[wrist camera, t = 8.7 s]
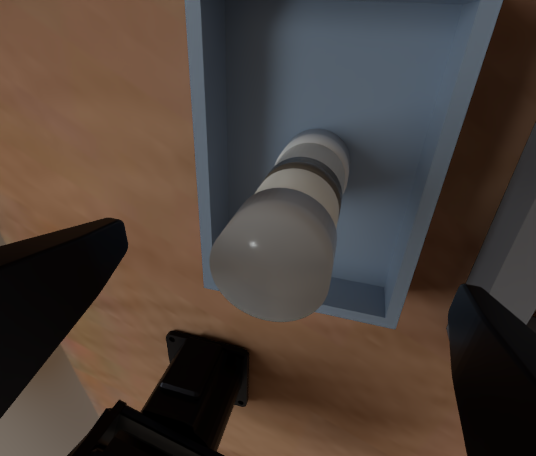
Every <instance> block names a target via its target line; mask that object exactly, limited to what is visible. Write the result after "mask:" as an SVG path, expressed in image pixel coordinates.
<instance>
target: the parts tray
mask: <svg viewBox="0 0 536 456" xmlns="http://www.w3.org/2000/svg"><path fill="white" fill-rule="evenodd" d="M502 2H503V0H185V12H186V27H187V42H188V57H189V72H190V87H191V102H192V116H193V131H194V146H195V161H196V176H197V191H198V206H199V220H200V235H201V250H202V265H203V280H204V288H208V289H212V290H217V291H220V290H219V289H218V288H217V286H216V284H215V282H214V280H213V277H212V275H211V271H210V264H209V260H210V252H211V249H212V246H213V244H214V242H215V240H216V239H217V238H218V236H219V235H220V234H221V232H222V231H223V230H224V228H225V227H226V226H227V224H228V223H229V222H230V220H231V219H232V218H233V216H234V215H235V214H236V212H237V211H238V210H239V208H240V207H241V206H242V204H243V203H244V202H245V201H246V200H247V199H248V198H249V197H251V196H252V195H254V193H255V192H256V191H257V189H258V188H259V186H260V184H261V183H262V181H263V180H264V179H265V177H266V176H267V175H268V173H269V172H270V171H271V169H272V168H273V167H274V166H275V163H276V160H277V158H278V157H279V155H280V154H281V152H282V151H283V150H284V148H285V147H286V146H287V144H288V143H289V142H290V141H291V139H292V138H293V137H294V136H296V135H297V134H298V133H300V132H302V131H305V130H308V129H315V128H317V129H325V130H328V131H330V132H333V133H334V134H336V135H337V136H339V137H340V138H341V139H342V140H343V141H344V143H345V144H346V146H347V148H348V150H349V153H350V161H351V163H350V170H349V176H348V182H347V186H346V189H345V192H344V193H343V196H342V204H341V209H340V215H339V219H338V222H337V228H336V232H337V246H336V252H335V258H334V264H333V270H332V275H331V281H330V287H329V291H328V295H327V297H326V299H325V301H324V302H323V304H322V305H321V306H320V307H319V308H318V309H317V310H316V311H315V312H318V313H322V314H327V315H331V316H336V317H341V318H345V319H350V320H354V321H359V322H363V323H368V324H373V325H377V326H382V327H386V328H391V329H396V326H397V323H398V320H399V317H400V314H401V311H402V308H403V305H404V301H405V298H406V295H407V292H408V289H409V286H410V283H411V280H412V277H413V274H414V271H415V268H416V265H417V262H418V259H419V256H420V253H421V250H422V247H423V243H424V240H425V237H426V234H427V231H428V228H429V225H430V222H431V219H432V216H433V213H434V210H435V207H436V204H437V201H438V198H439V195H440V192H441V189H442V185H443V182H444V179H445V176H446V173H447V170H448V167H449V164H450V161H451V158H452V155H453V152H454V149H455V146H456V143H457V140H458V137H459V134H460V130H461V127H462V124H463V121H464V118H465V115H466V112H467V109H468V106H469V103H470V100H471V97H472V94H473V91H474V88H475V85H476V82H477V79H478V76H479V72H480V69H481V66H482V63H483V60H484V57H485V54H486V51H487V48H488V45H489V42H490V39H491V36H492V33H493V30H494V27H495V24H496V21H497V18H498V14H499V11H500V8H501V5H502Z"/></svg>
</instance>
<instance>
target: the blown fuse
mask: <svg viewBox="0 0 536 456" xmlns="http://www.w3.org/2000/svg"><path fill="white" fill-rule="evenodd" d="M350 163H351V161H350V153H349V150H348V148H347V146H346V144H345V143H344V141H343V140H342V139H341V138H340V137H339V136H337V135H336V134H334V133H333V132H330V131H328V130H325V129H317V128H315V129H308V130H305V131H302V132H300V133H298V134H297V135H296V136H294V137H293V138H292V139H291V141H290V142H289V143H288V144H287V146H286V147H285V148H284V150H283V151H282V152H281V154H280V155H279V157H278V158H277V160H276V163H275V166H274V167H273V168H272V169H271V171H270V172H269V173H268V175H267V176H266V177H265V179H264V180H263V181H262V183H261V184H260V186H259V188H258V189H257V191H256V192H255V193H254V195H252V196H251V197H249V198H248V199H247V200H246V201H245V202H244V203H243V204H242V206H241V207H240V208H239V210H238V211H237V212H236V214H235V215H234V216H233V218H232V219H231V220H230V222H229V223H228V224H227V226H226V227H225V228H224V230H223V231H222V232H221V234H220V235H219V236H218V238H217V239H216V240H215V242H214V244H213V246H212V249H211V252H210V260H209V264H210V271H211V275H212V277H213V280H214V282H215V284H216V286H217V288H218V289H219V290H220V292H221V293H222V294H223V296H224V297H225V298H226V299H227V300H228V301H229V302H230V303H232V304H233V305H234V306H235V307H237V308H238V309H240V310H241V311H243V312H245V313H247V314H249V315H251V316H254V317H256V318H259V319H263V320H267V321H274V322H289V321H295V320H299V319H302V318H304V317H307V316H308V315H310V314H312V313H313V312H315V311H316V310H317V309H318V308H319V307H320V306H321V305H322V304H323V302H324V301H325V299H326V297H327V295H328V291H329V287H330V281H331V275H332V270H333V264H334V258H335V252H336V246H337V232H336V228H337V222H338V219H339V215H340V209H341V204H342V196H343V193H344V192H345V189H346V186H347V182H348V176H349V170H350Z"/></svg>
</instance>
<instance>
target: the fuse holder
mask: <svg viewBox="0 0 536 456" xmlns="http://www.w3.org/2000/svg"><path fill="white" fill-rule="evenodd" d="M466 284H469V285H475V286H480V287H482V288H483V289H484V290H486V291H487V292H488V293H489V294H490V295H492V296H493V297H494V298H495V299H496V300H497V301H499V302H500V303H501V304H502V305H503V306H505V307H506V308H507V309H508V310H509V311H511V312H512V313H513V314H514V315H515V316H516V317H518V318H519V319H520V320H521V321H522V322H524V323H525V324H526V325H527V326H528V327H529V328H531V329H532V330H533V331H534V332H535V333H536V317H531V316H532V315H533V313H534V311H535V310H536V122H535V125H534V127H533V129H532V132H531V134H530V136H529V139H528V141H527V143H526V145H525V148H524V150H523V152H522V155H521V157H520V159H519V162H518V164H517V166H516V169H515V171H514V173H513V176H512V178H511V180H510V182H509V185H508V187H507V189H506V192H505V194H504V196H503V199H502V201H501V203H500V206H499V208H498V210H497V212H496V215H495V217H494V219H493V222H492V224H491V226H490V229H489V231H488V233H487V236H486V238H485V240H484V242H483V245H482V247H481V249H480V252H479V254H478V256H477V259H476V261H475V263H474V266H473V268H472V270H471V272H470V275H469V277H468V279H467V282H466ZM446 329H447V333H448V337H449V327H448V326H447V328H446Z"/></svg>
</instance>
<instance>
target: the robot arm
mask: <svg viewBox="0 0 536 456" xmlns="http://www.w3.org/2000/svg"><path fill="white" fill-rule="evenodd" d="M127 249H128V241H127V236H126V231H125V226H124V223H123V222H122V221H121V220H119V219H114V218H104V219H100V220H97V221H93V222H89V223H85V224H82V225H78V226H74V227H70V228H67V229H63V230H59V231H55V232H52V233H48V234H44V235H40V236H37V237H33V238H29V239H25V240H22V241H18V242H14V243H10V244H7V245H3V246H0V418H1V417H2V416H3V415H4V413H5V412H6V411H7V410H8V408H9V407H10V406H11V404H12V403H13V402H14V401H15V400H16V398H17V397H18V396H19V394H20V393H21V392H22V391H23V389H24V388H25V387H26V386H27V384H28V383H29V382H30V380H31V379H32V378H33V377H34V376H35V374H36V373H37V372H38V370H39V369H40V368H41V367H42V366H43V364H44V363H45V362H46V361H47V359H48V358H49V357H50V356H51V354H52V353H53V352H54V350H55V349H56V348H57V347H58V345H59V344H60V343H61V342H62V340H63V339H64V338H65V337H66V335H67V334H68V333H69V332H70V330H71V329H72V328H73V327H74V325H75V324H76V323H77V322H78V320H79V319H80V318H81V317H82V315H83V314H84V313H85V312H86V310H87V309H88V308H89V306H90V305H91V304H92V303H93V301H94V300H95V299H96V298H97V296H98V295H99V294H100V292H101V291H102V289H103V288H104V286H105V285H106V283H107V282H108V280H109V278H110V277H111V275H112V274H113V272H114V271H115V269H116V268H117V266H118V264H119V263H120V261H121V260H122V258H123V257H124V255H125V254H126V252H127ZM448 327H449V341H450V356H451V370H452V379H453V385H454V390H455V396H456V401H457V406H458V411H459V416H460V421H461V426H462V431H463V436H464V441H465V447H466V452H467V456H536V333H535V332H534V331H533V330H532V329H531V328H529V327H528V326H527V325H526V324H525V323H524V322H522V321H521V320H520V319H519V318H518V317H516V316H515V315H514V314H513V313H512V312H511V311H509V310H508V309H507V308H506V307H505V306H503V305H502V304H501V303H500V302H499V301H497V300H496V299H495V298H494V297H493V296H492V295H490V294H489V293H488V292H487V291H486V290H484V289H483V288H482V287H480V286H475V285H469V284H462V285H460V286H459V288H458V290H457V292H456V295H455V297H454V299H453V302H452V304H451V306H450V309H449V313H448ZM166 342H167V348H168V355H169V361H170V364H169V366H168V368H167V369H166V371H165V373H164V374H163V376H162V378H161V379H160V381H159V382H158V384H157V386H156V387H155V389H154V391H153V392H152V394H151V396H150V397H149V399H148V400H147V402H146V404H145V405H144V407H143V409H142V410H141V412H139V411H137V410H135V409H133V408H131V407H129V406H127V403H125V402H123V401H121V400H119V401H118V402H117V403H116V404H115V406H114V407H113V408H106V409H105V411H104V412H103V414H102V415H101V416H100V418H99V419H98V421H97V422H96V424H95V425H94V427H93V428H92V429H91V430H90V431H89V433H88V434H87V435H86V436H85V437H84V438H83V440H81V442H80V443H79V444H78V445H77V446H76V447H75V448H74V449H73V450H72V451H71V452H70V453H69V454H68V455H67V456H224V455H222V454H220V453H218V452H217V449H218V447H219V444H220V441H221V439H222V436H223V433H224V431H225V428H226V425H227V423H228V420H229V417H230V415H231V412H232V409H233V407H234V405H238V406H241V407H245V406H246V404H247V401H248V379H249V353H248V351H247V350H245V349H243V348H240V347H236V346H232V345H228V344H224V343H220V342H216V341H212V340H208V339H204V338H200V337H196V336H192V335H188V334H184V333H180V332H176V331H170V332H169V333H168V334H167V336H166Z"/></svg>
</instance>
